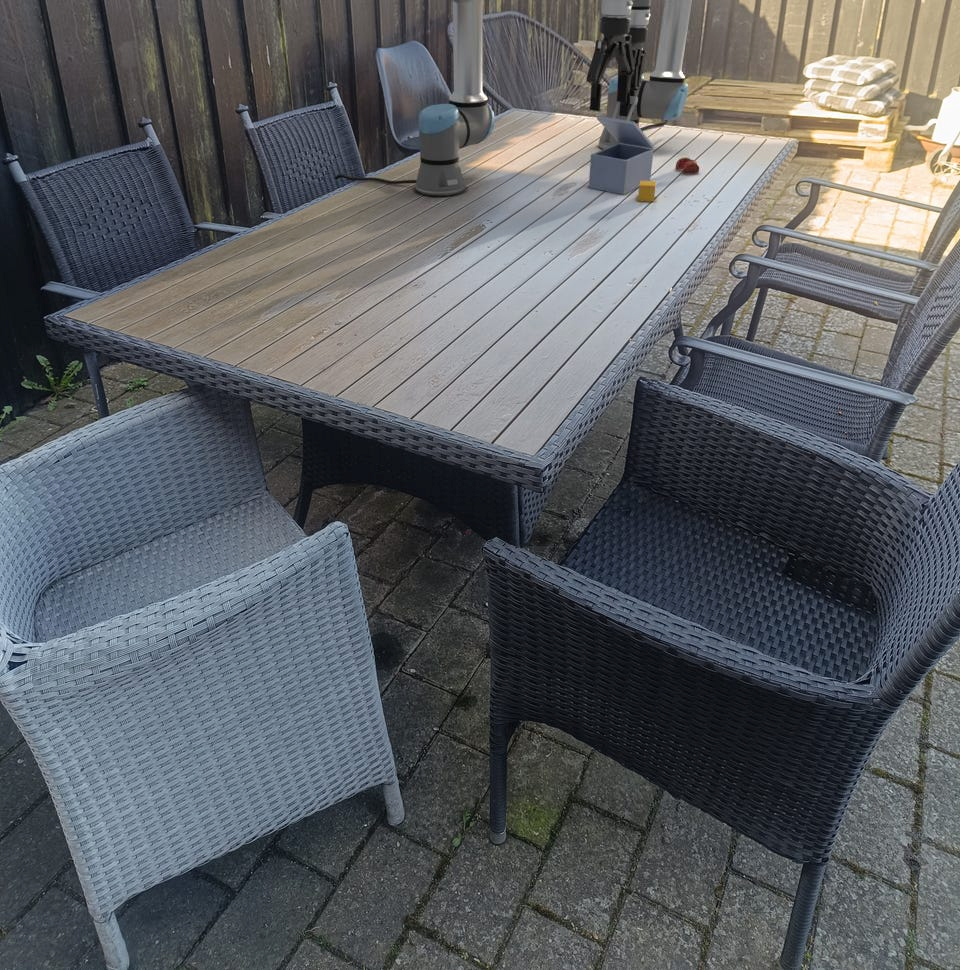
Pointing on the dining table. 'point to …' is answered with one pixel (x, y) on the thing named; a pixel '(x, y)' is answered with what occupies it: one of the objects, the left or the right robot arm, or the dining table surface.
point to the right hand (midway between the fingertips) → (626, 115)
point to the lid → (626, 128)
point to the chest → (620, 168)
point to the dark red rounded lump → (687, 165)
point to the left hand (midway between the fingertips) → (608, 106)
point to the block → (647, 191)
